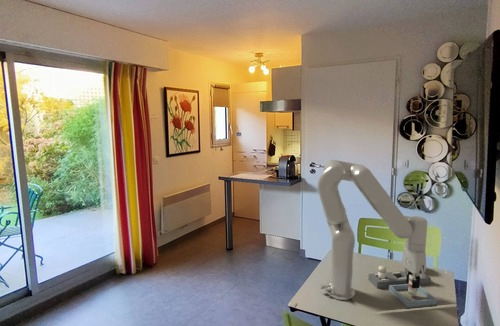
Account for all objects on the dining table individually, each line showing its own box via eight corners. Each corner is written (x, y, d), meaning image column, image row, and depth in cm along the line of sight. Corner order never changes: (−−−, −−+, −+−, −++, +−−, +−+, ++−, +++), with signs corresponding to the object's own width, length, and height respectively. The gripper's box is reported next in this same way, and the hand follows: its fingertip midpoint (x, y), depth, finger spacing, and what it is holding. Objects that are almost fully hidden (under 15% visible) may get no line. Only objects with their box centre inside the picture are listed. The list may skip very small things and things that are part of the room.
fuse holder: (377, 290, 148) (377, 281, 147) (368, 281, 156) (368, 273, 155) (430, 285, 152) (430, 277, 151) (419, 277, 160) (419, 269, 159)
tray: (407, 308, 134) (407, 302, 133) (388, 291, 147) (388, 285, 146) (436, 306, 135) (437, 299, 135) (415, 289, 149) (416, 283, 148)
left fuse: (380, 285, 150) (381, 269, 149) (376, 281, 154) (377, 265, 153) (386, 284, 151) (387, 268, 150) (382, 281, 154) (383, 265, 153)
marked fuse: (411, 295, 139) (412, 278, 138) (406, 291, 142) (407, 274, 141) (418, 295, 139) (419, 277, 138) (413, 290, 143) (414, 273, 142)
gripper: (396, 238, 145) (393, 277, 148) (420, 254, 129) (417, 296, 132) (411, 238, 146) (408, 275, 149) (437, 252, 130) (433, 295, 133)
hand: (412, 285), depth 140 cm, fingers closed on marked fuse, 3 cm apart
